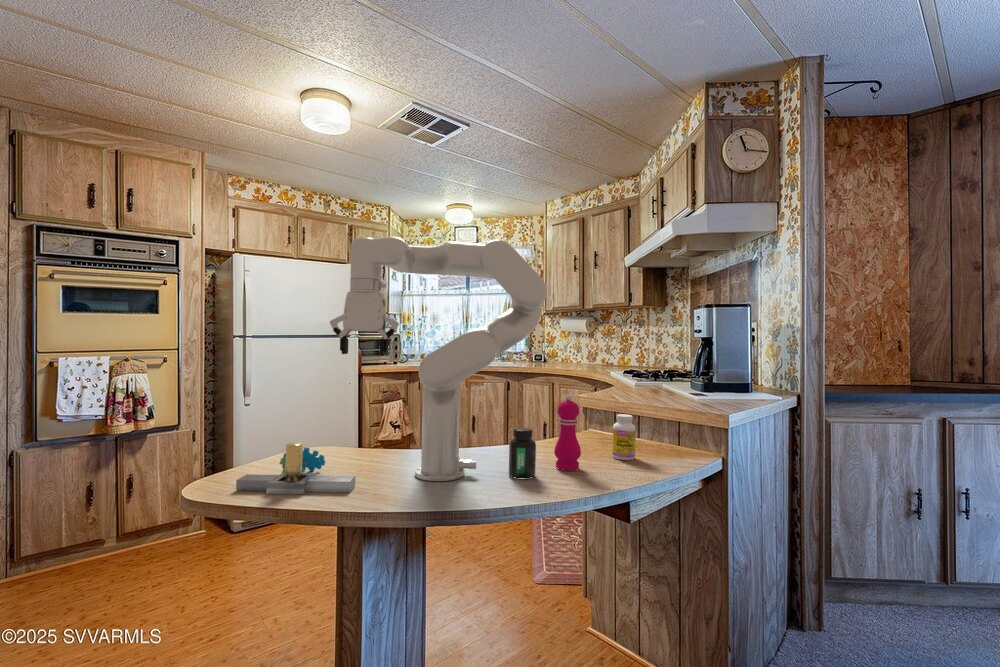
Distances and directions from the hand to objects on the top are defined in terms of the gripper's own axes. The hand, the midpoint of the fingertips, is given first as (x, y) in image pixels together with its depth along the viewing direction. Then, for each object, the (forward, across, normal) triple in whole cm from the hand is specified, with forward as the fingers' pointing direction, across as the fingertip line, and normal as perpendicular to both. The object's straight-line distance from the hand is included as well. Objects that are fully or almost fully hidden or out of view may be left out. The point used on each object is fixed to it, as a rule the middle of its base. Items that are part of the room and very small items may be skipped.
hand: (363, 354), depth 120 cm
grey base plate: (+30, +12, +12) cm, 35 cm away
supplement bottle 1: (+31, -41, 0) cm, 51 cm away
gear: (+31, +14, +1) cm, 34 cm away
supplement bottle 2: (+31, -73, -20) cm, 82 cm away
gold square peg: (+30, +12, +12) cm, 35 cm away
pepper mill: (+31, -54, -8) cm, 63 cm away
